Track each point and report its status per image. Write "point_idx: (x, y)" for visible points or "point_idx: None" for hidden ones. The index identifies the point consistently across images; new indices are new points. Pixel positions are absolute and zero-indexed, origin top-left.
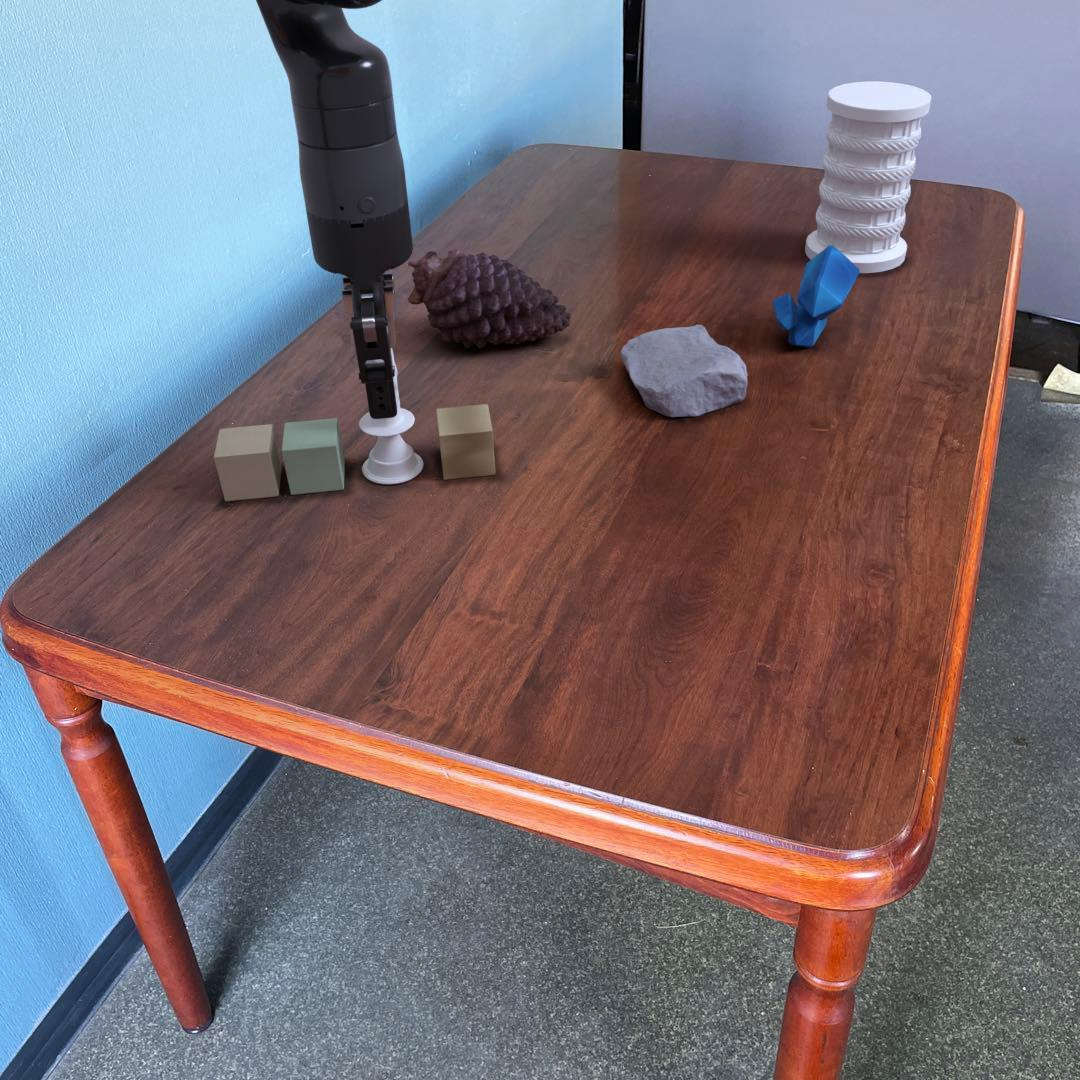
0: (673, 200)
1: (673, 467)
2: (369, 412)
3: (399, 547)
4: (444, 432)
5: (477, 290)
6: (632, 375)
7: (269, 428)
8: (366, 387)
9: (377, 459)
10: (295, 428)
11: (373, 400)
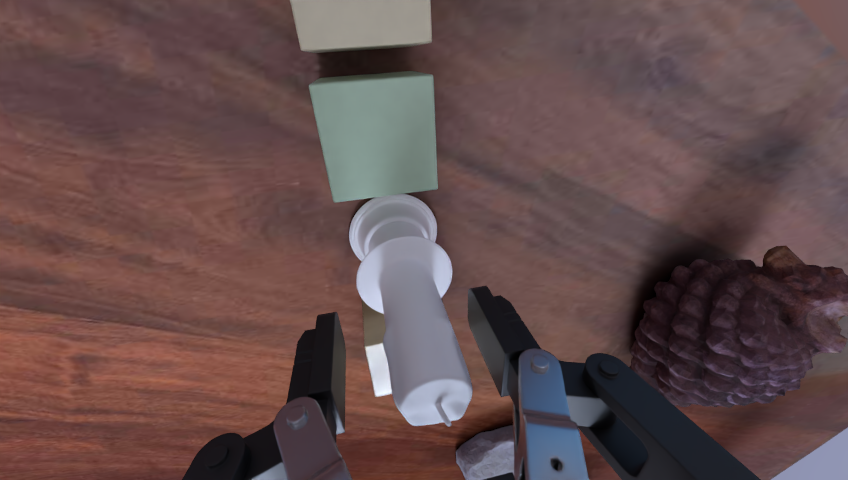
0: (816, 406)
1: (378, 457)
2: (317, 321)
3: (195, 265)
4: (373, 350)
5: (713, 370)
6: (512, 443)
7: (409, 36)
8: (310, 373)
9: (375, 232)
10: (404, 106)
11: (295, 366)
